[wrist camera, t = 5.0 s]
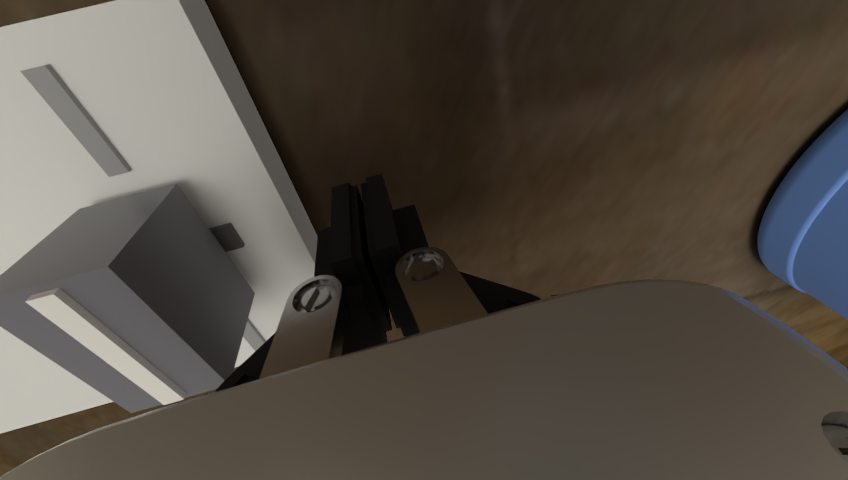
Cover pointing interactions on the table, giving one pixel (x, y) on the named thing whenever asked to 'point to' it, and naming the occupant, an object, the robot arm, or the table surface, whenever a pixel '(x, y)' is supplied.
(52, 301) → the fader knob
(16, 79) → the fader board
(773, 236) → the water jug
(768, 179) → the table surface
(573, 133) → the table surface
